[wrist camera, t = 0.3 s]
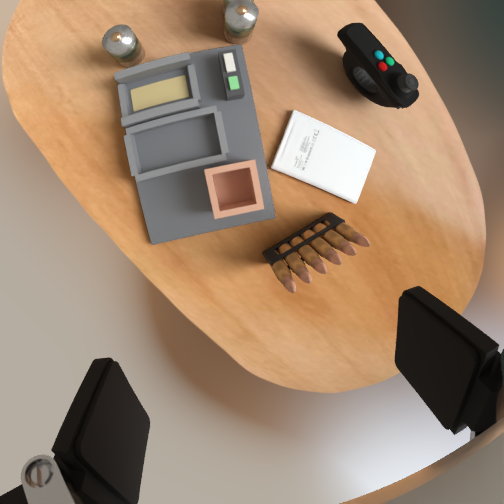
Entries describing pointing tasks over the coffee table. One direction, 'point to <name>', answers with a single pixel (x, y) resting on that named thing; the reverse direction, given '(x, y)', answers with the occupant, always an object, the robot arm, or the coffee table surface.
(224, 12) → the cell
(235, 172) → the pink hollow box
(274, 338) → the coffee table surface
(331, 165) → the external hard drive
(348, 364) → the coffee table surface
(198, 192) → the board
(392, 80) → the controller
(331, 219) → the ammunition clip
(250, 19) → the cell
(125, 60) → the cell
